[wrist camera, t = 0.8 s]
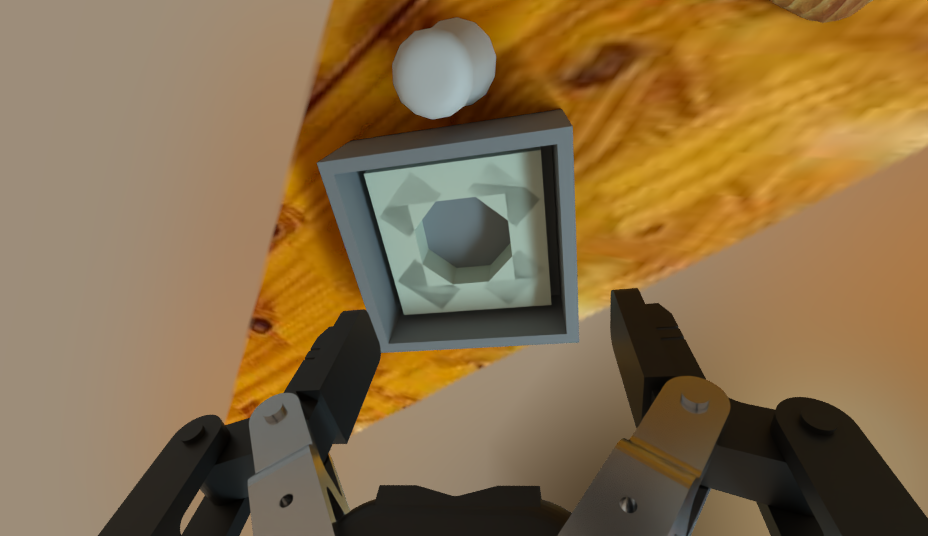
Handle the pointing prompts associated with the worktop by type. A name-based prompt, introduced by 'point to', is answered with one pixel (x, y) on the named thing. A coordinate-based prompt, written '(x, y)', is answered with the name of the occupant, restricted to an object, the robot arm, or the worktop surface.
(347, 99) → the worktop surface
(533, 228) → the bore box
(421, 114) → the salt shaker
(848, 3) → the ridged seashell
